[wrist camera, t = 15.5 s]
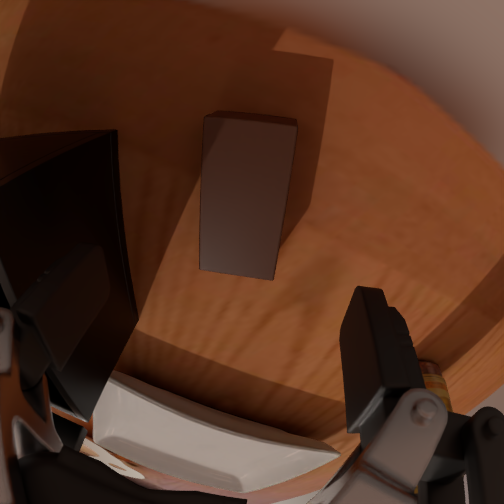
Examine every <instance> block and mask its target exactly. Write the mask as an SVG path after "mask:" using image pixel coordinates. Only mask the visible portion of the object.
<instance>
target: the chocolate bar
mask: <svg viewBox="0 0 504 504" xmlns="http://www.w3.org/2000/svg"><path fill="white" fill-rule="evenodd" d="M297 132H298V125H297V120H296V119H291V118H284V117H277V116H269V115H260V114H251V113H241V112H230V111H216V112H213V113H211V114H209V115H206V116H205V117H204V125H203V143H202V163H201V190H200V233H199V269H200V270H206V271H212V272H218V273H225V274H231V275H238V276H245V277H251V278H258V279H265V280H274V275H275V270H276V264H277V258H278V252H279V246H280V240H281V234H282V228H283V222H284V216H285V210H286V204H287V198H288V191H289V185H290V178H291V172H292V165H293V159H294V152H295V145H296V139H297Z"/></svg>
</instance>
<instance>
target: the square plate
mask: <svg viewBox="0 0 504 504" xmlns="http://www.w3.org/2000/svg"><path fill="white" fill-rule="evenodd" d="M93 440H94V442H95V443H96V444H98V445H100V446H102V447H104V448H106V449H108V450H110V451H112V452H114V453H116V454H118V455H120V456H123V457H125V458H127V459H129V460H131V461H134V462H136V463H138V464H141V465H143V466H145V467H148V468H150V469H153V470H156V471H158V472H161V473H164V474H167V475H170V476H173V477H176V478H179V479H183V480H186V481H190V482H194V483H197V484H201V485H206V486H210V487H215V488H219V489H224V490H229V491H234V492H239V493H247V492H251V491H255V490H259V489H263V488H266V487H270V486H273V485H276V484H279V483H282V482H284V481H287V480H290V479H292V478H295V477H297V476H300V475H302V474H304V473H307V472H309V471H311V470H313V469H315V468H318V467H320V466H322V465H324V464H326V463H328V462H330V461H332V460H334V459H336V458H337V457H339V456H341V453H340V452H338V451H337V450H335V449H334V448H332V447H331V446H329V445H328V444H326V443H324V442H321V441H318V440H315V439H311V438H307V437H303V436H298V435H294V434H290V433H287V432H285V431H283V430H281V429H278V428H274V427H271V426H267V425H264V424H260V423H257V422H253V421H250V420H246V419H243V418H240V417H237V416H233V415H230V414H227V413H224V412H221V411H218V410H215V409H213V408H210V407H207V406H204V405H202V404H199V403H196V402H194V401H191V400H189V399H186V398H184V397H181V396H179V395H176V394H174V393H172V392H169V391H167V390H164V389H161V388H158V387H154V386H152V385H150V384H147V383H145V382H143V381H140V380H138V379H136V378H134V377H131V376H129V375H126V374H124V373H122V372H118V371H115V370H113V371H112V373H111V375H110V377H109V379H108V381H107V383H106V385H105V387H104V390H103V392H102V394H101V396H100V398H99V400H98V402H97V404H96V406H95V409H94V411H93Z"/></svg>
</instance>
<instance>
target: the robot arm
mask: <svg viewBox="0 0 504 504" xmlns="http://www.w3.org/2000/svg"><path fill="white" fill-rule="evenodd" d="M109 294H110V281H109V276H108V271H107V266H106V261H105V256H104V251H103V248H102V247H101V246H99V245H93V244H88V243H82V242H81V243H78V244H77V245H76V246H75V247H74V248H73V249H72V250H71V251H70V252H69V253H68V254H67V255H65V256H63V257H61V258H60V259H58V260H56V261H54V262H53V263H52V264H51V265H50V266H49V267H48V268H47V269H46V270H45V271H44V273H42V274H41V275H40V276H39V277H38V278H37V281H35V282H34V283H33V284H32V285H31V286H30V287H29V288H28V289H27V290H26V291H25V292H24V293H23V294H22V296H21V297H20V298H19V299H18V300H17V301H16V302H15V303H14V305H13V306H12V307H11V308H10V309H7V308H3V307H0V504H247V499H240V498H233V497H226V496H220V495H215V494H209V493H204V492H199V491H172V490H153V489H145V488H141V487H139V486H138V485H136V484H134V483H133V482H131V481H129V480H128V479H126V478H125V477H123V476H122V475H120V474H119V473H117V472H116V471H114V470H113V469H111V468H110V467H108V466H107V465H105V464H104V463H102V462H101V461H99V460H96V459H94V458H92V457H89V456H87V455H85V454H82V453H80V452H78V451H76V450H74V449H72V448H70V447H68V446H66V445H64V444H62V442H61V440H60V438H59V436H58V434H57V432H56V430H55V427H54V422H53V417H52V411H51V404H50V397H49V389H48V381H47V376H46V374H45V371H46V369H47V368H48V367H50V368H52V369H54V370H57V371H59V372H61V371H62V369H63V368H64V366H65V364H66V363H67V361H68V359H69V358H70V356H71V355H72V353H73V351H74V350H75V348H76V347H77V345H78V344H79V342H80V340H81V339H82V337H83V336H84V334H85V333H86V331H87V330H88V328H89V327H90V325H91V324H92V322H93V321H94V319H95V318H96V316H97V315H98V313H99V312H100V310H101V309H102V308H103V306H104V305H105V303H106V302H107V300H108V297H109ZM339 342H340V351H341V361H342V371H343V381H344V393H345V406H346V421H347V433H360V440H361V442H360V443H359V445H358V446H357V447H356V448H355V450H354V451H353V452H352V453H351V455H350V456H349V457H348V459H347V460H346V461H345V462H344V464H343V465H342V466H341V467H340V468H339V470H338V471H337V472H336V473H335V474H334V476H333V477H332V478H331V479H330V480H329V481H328V482H327V484H326V485H325V486H324V487H323V488H322V489H321V490H320V491H319V492H318V493H317V494H316V495H315V496H314V497H313V498H312V499H311V500H310V501H309V502H308V503H307V504H417V502H418V504H466V503H465V491H464V481H463V476H464V475H465V474H466V475H467V484H468V494H469V504H504V415H503V414H502V413H501V412H500V411H499V410H497V409H496V408H493V407H483V408H481V409H480V410H478V411H477V412H476V413H475V414H474V415H473V416H472V417H470V416H465V415H461V414H457V413H454V412H450V411H447V409H446V406H445V404H444V402H443V401H442V400H441V398H440V397H439V396H438V395H436V394H435V393H434V392H432V391H430V390H427V389H426V386H425V382H424V378H423V375H422V372H421V368H420V365H419V361H418V358H417V355H416V352H415V349H414V347H413V342H412V339H411V336H409V330H408V327H407V324H406V322H405V319H404V318H403V317H402V315H401V314H400V313H399V312H398V311H397V309H396V308H395V307H388V304H387V301H386V298H385V295H384V292H383V290H382V289H379V288H371V287H363V286H357V287H356V288H355V290H354V293H353V296H352V298H351V301H350V304H349V306H348V309H347V312H346V314H345V317H344V319H343V322H342V325H341V329H340V338H339ZM417 484H418V496H417V495H415V494H414V491H415V488H416V486H417Z"/></svg>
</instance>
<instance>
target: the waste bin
mask: <svg viewBox="0 0 504 504" xmlns="http://www.w3.org/2000/svg"><path fill="white" fill-rule="evenodd" d="M81 242H82V243H88V244H93V245H99V246H101V247H102V248H103V251H104V256H105V261H106V266H107V271H108V276H109V281H110V294H109V297H108V300H107V302H106V303H105V305H104V306H103V308H102V309H101V310H100V312H99V313H98V315H97V316H96V318H95V319H94V321H93V322H92V324H91V325H90V327H89V328H88V330H87V331H86V333H85V334H84V336H83V337H82V339H81V340H80V342H79V344H78V345H77V347H76V348H75V350H74V351H73V353H72V355H71V356H70V358H69V359H68V361H67V363H66V364H65V366H64V368H63V369H62V371H61V372H59V371H57V370H54V369H52V368H50V367H48V368H47V369H46V371H45V374H46V376H47V381H48V389H49V397H50V404H51V406H52V407H55V408H57V409H59V410H61V411H63V412H65V413H67V414H70V415H72V416H74V417H76V418H78V419H81V420H83V421H85V422H89V420H90V417H91V415H92V413H93V411H94V409H95V406H96V404H97V402H98V400H99V398H100V396H101V394H102V392H103V390H104V387H105V385H106V383H107V381H108V379H109V377H110V375H111V373H112V371H113V369H114V367H115V365H116V363H117V361H118V359H119V357H120V355H121V353H122V351H123V349H124V347H125V345H126V343H127V341H128V340H129V338H130V336H131V334H132V332H133V330H134V328H135V326H136V324H137V322H138V320H139V318H138V313H137V308H136V303H135V297H134V292H133V286H132V280H131V274H130V268H129V262H128V255H127V248H126V240H125V232H124V223H123V214H122V204H121V192H120V179H119V162H118V135H117V130H86V131H67V132H53V133H42V134H32V135H23V136H14V137H7V138H0V307H3V308H7V309H10V308H11V307H12V306H13V305H14V303H15V302H16V301H17V300H18V299H19V298H20V297H21V296H22V294H23V293H24V292H25V291H26V290H27V289H28V288H29V287H30V286H31V285H32V284H33V283H34V282H35V281H37V278H38V277H39V276H40V275H41V274H42V273H44V271H45V270H46V269H47V268H48V267H49V266H50V265H51V264H52V263H53V262H54V261H56V260H58V259H60V258H61V257H63V256H65V255H67V254H68V253H69V252H70V251H71V250H72V249H73V248H74V247H75V246H76V245H77V244H78V243H81Z"/></svg>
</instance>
